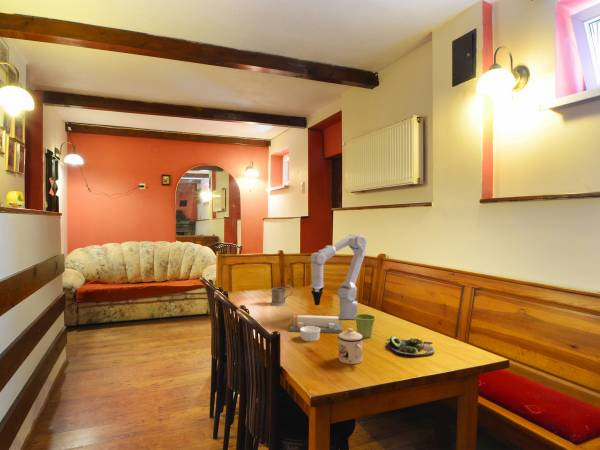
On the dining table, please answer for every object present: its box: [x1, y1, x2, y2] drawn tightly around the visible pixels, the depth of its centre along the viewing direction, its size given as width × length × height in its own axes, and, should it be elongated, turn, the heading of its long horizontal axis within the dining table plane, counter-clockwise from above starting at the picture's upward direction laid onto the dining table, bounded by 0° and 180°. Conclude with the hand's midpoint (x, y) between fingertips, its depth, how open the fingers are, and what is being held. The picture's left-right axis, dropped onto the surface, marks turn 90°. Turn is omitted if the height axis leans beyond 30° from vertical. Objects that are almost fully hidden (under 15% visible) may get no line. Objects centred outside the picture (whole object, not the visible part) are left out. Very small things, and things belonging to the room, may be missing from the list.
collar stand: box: [289, 320, 343, 334], centre depth 175 cm, size 24×12×4 cm, turn 85°
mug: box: [269, 284, 294, 307], centre depth 223 cm, size 14×10×12 cm
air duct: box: [293, 314, 340, 327], centre depth 175 cm, size 21×4×4 cm, turn 85°
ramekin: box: [300, 326, 321, 342], centre depth 160 cm, size 9×9×4 cm
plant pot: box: [354, 313, 377, 339], centre depth 164 cm, size 9×9×9 cm
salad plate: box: [385, 335, 436, 358], centre depth 148 cm, size 19×18×5 cm
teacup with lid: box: [337, 327, 364, 365], centre depth 135 cm, size 12×9×12 cm
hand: (317, 303), depth 186 cm, fingers open, 7 cm apart
